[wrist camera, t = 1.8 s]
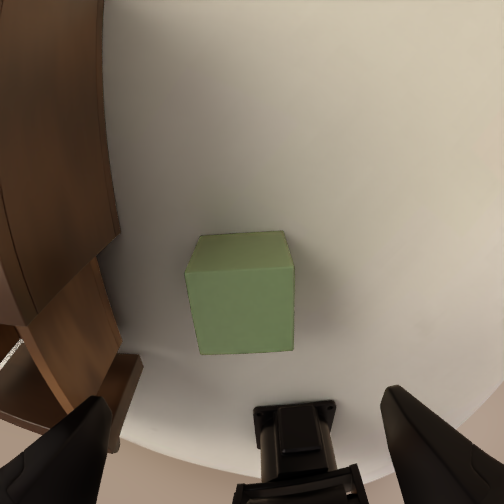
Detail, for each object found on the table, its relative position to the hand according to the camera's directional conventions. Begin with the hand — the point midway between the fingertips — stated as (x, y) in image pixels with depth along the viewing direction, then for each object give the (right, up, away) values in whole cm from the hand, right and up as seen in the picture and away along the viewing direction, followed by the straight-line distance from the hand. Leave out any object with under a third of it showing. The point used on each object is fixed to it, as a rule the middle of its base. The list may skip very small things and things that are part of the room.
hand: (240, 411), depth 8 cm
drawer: (-13, +1, +9) cm, 16 cm away
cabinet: (-14, +12, +5) cm, 19 cm away
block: (0, +4, +9) cm, 9 cm away
